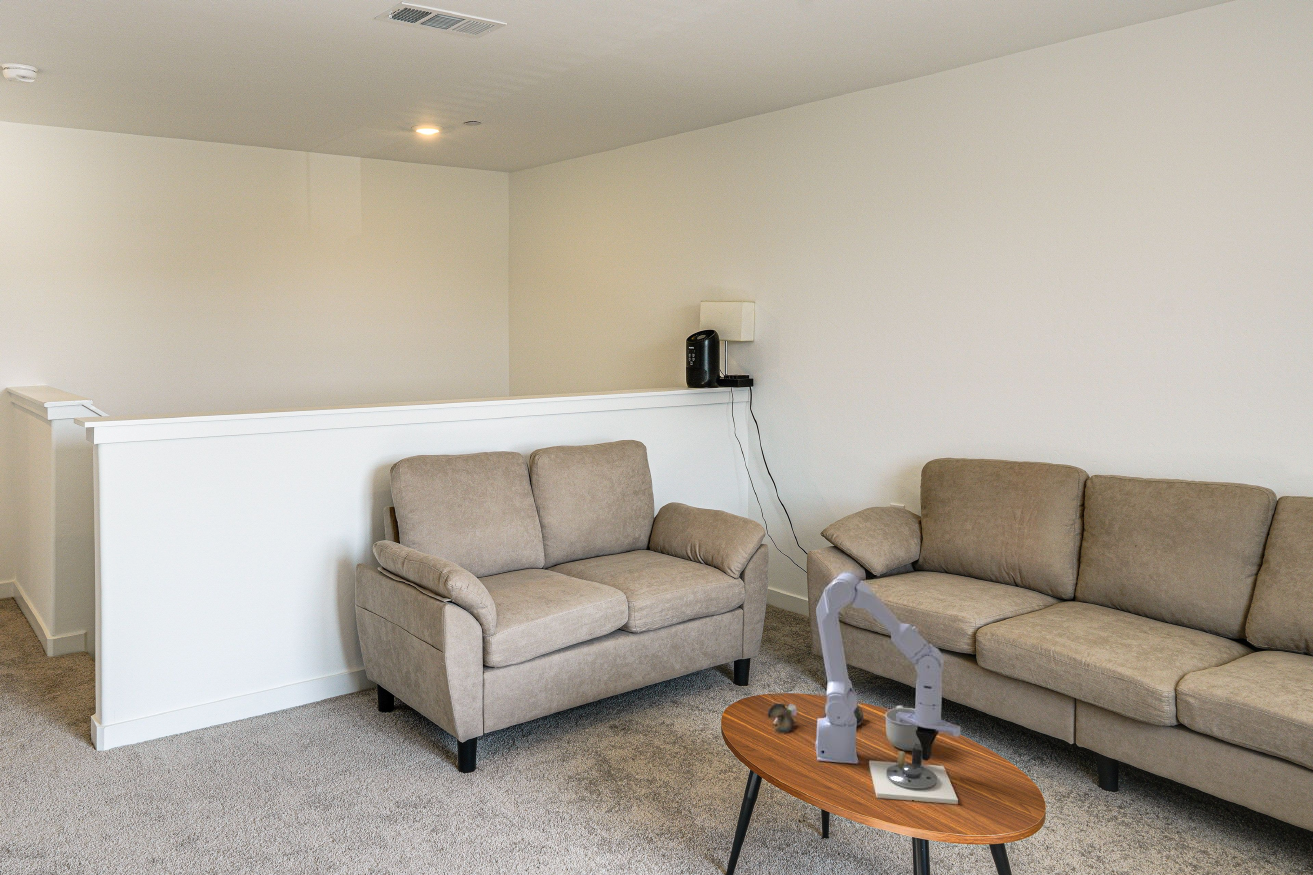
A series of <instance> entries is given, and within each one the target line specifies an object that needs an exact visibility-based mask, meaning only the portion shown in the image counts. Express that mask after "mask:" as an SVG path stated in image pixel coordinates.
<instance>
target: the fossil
mask: <svg viewBox="0 0 1313 875" xmlns="http://www.w3.org/2000/svg"><path fill="white" fill-rule="evenodd" d="M826 704H827V701H826V702H825V705H824V708H825V707H826ZM854 715H855V717H856V719H857V725H856V728H858V727H859V726H860V725H862V723H863V721H864V712H863V708H862V707H861V706H860V705H858V706H857V708H856V709H855V710H854ZM823 718H826V713H825V712H824V717H823ZM857 726H858V727H857Z"/></svg>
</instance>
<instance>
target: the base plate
mask: <svg viewBox="0 0 1313 875" xmlns="http://www.w3.org/2000/svg"><path fill="white" fill-rule="evenodd" d="M897 764H907V763H906V752H905V751H904V750H899V751H897V762H895V761H894V762H893V761H883V760H881V761H878V760H868V766H869V772H870V775H871V779H872V782H873V783H872V784H873V788H874V793H875V796H876V798H877V799H887V800H898V801H899V800H900V801H912V800H914V802H924V803H925V802H926V803H938V804H949V805H958V804H959V802H958V801H959V799H958V796H957V795H956V792H955V789H954V787H953V785H952V783H951V780H950V778H949V776H948V774H947V771H946V769H945V766H944V765H932V764H931V765H930V764H922V766H921V767H924V768H927V769H929V770H931V771H932V772H934V773H935V774H936V776H937V784H936V785H935V786H933V787H931V788H927V789H911V788H906V787H902V786H899V785H897V784H895V783H893V782H891V781H890V780H889V779H888V778H887V776H886V772H887V769H888V768H889V767H890V766H893V765H897ZM912 802H913V801H912Z"/></svg>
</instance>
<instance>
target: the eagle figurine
mask: <svg viewBox="0 0 1313 875" xmlns="http://www.w3.org/2000/svg"><path fill="white" fill-rule="evenodd" d="M797 711H798V709H797V706H796V705H795V704H793V703H789V704H788V705H787V706H786V705H785V703H777V702H776V703H775V702H774V701H772V705H771V706H770V708H769V709H768V711H767V718H768V719H773V718H774V719H775V720H774V721H773V724H774V725H776V724H777V726H776V727H775V728H774V731H775V733H777V732H779V733H778V734H785V733H786V734H787V733H789V732H790V731H792V729H793V727H794V724H795V721H794V718H793V716H794V717H795V716H796V715H797ZM773 724H772V725H773Z"/></svg>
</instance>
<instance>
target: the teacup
mask: <svg viewBox="0 0 1313 875" xmlns="http://www.w3.org/2000/svg"><path fill="white" fill-rule="evenodd" d="M899 712H903V713H909V714H915V708H912V707H904V706H903V705H897V706H896V707H895V708H891V709H890V710H888V711H886V712H885V714H884V716H885V731H886V732H885V733H886V737H887V739H888V741H889V742H890V744H892V745H893V746H894V747H895V748H897V749H899V750H901V749H902V750H901V751H909V752H913V747H914V744H920V741H919V739H918V737H917V735H916V730H917V726H915V725H911V724H907V723H903V722H901V723H898V722H896V714H897V713H899Z"/></svg>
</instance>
